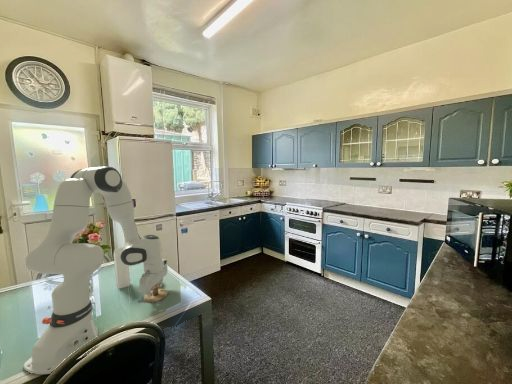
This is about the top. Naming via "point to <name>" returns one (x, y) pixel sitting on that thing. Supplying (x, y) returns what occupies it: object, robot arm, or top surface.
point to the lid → (156, 295)
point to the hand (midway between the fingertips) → (155, 291)
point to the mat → (157, 301)
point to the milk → (121, 270)
